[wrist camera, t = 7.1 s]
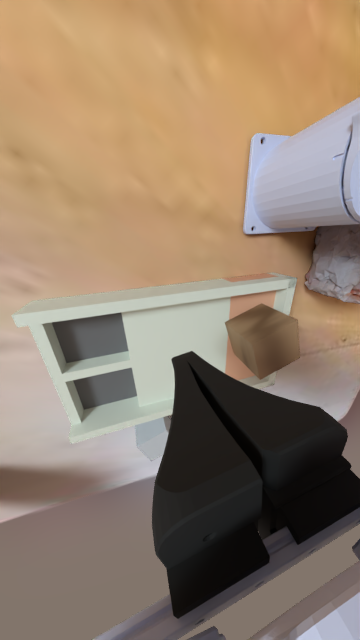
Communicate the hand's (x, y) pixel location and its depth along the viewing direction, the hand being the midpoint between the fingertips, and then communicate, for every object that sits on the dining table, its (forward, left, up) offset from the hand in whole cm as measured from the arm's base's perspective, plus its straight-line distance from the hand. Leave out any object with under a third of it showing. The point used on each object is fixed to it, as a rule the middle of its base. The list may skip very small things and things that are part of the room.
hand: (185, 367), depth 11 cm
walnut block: (-11, +4, -8) cm, 14 cm away
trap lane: (-2, +5, -10) cm, 12 cm away
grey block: (+2, +17, -10) cm, 20 cm away
